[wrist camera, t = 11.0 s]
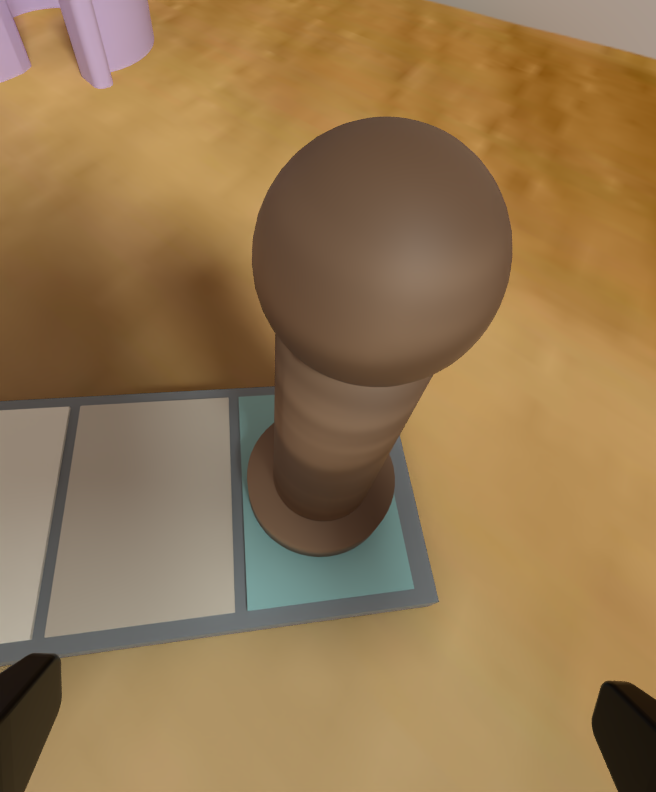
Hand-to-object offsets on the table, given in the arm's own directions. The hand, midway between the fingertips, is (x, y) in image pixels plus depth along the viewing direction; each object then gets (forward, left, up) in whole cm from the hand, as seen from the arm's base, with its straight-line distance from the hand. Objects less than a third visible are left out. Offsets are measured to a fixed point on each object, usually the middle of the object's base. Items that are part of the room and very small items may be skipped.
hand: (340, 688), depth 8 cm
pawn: (+6, +2, -7) cm, 10 cm away
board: (+4, +7, -9) cm, 12 cm away
